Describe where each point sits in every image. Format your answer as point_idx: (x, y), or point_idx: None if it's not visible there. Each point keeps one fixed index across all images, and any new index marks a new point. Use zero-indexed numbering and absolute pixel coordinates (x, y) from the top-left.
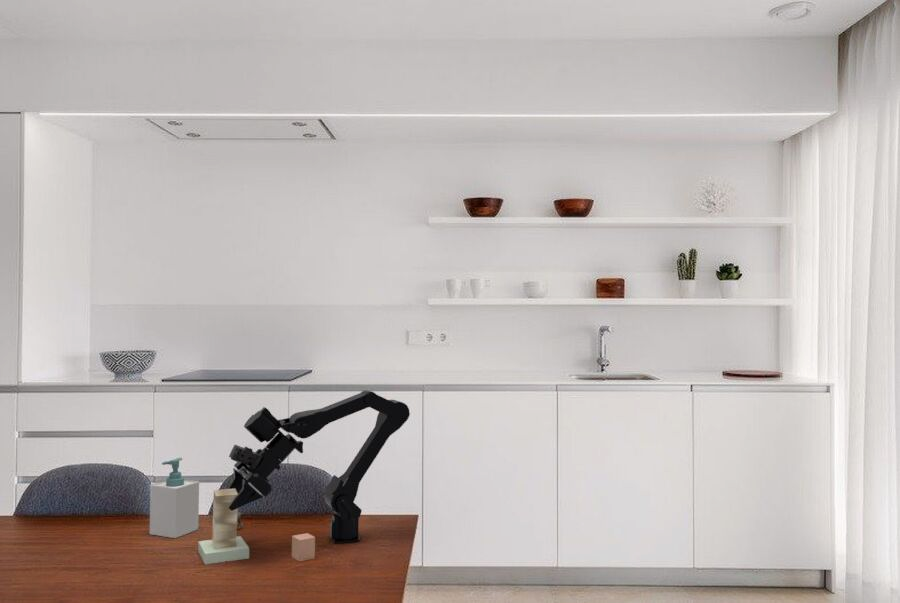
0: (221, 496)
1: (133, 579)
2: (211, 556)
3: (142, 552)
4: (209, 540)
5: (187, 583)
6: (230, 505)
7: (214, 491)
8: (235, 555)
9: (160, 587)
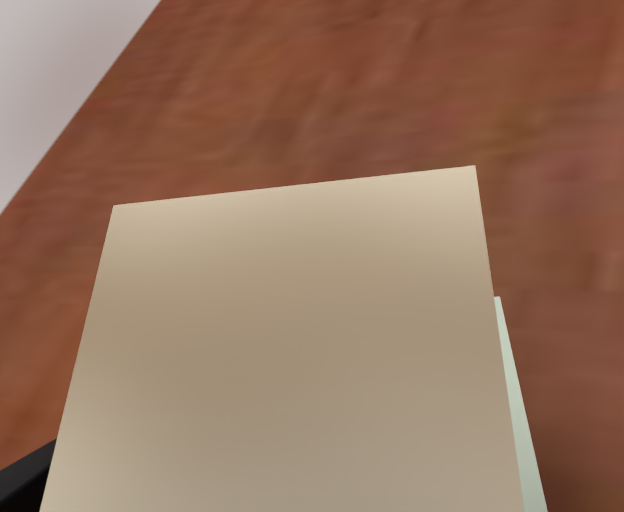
0: (104, 288)
1: (217, 96)
2: None
3: (539, 90)
4: (505, 363)
5: (76, 257)
6: (50, 442)
7: (370, 178)
8: None
9: (94, 175)
